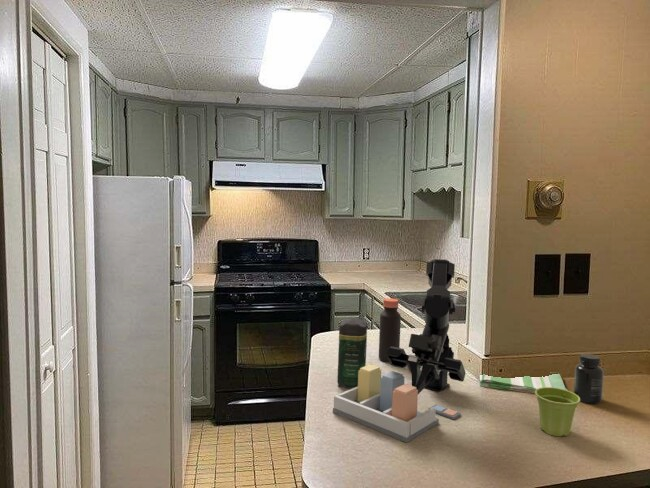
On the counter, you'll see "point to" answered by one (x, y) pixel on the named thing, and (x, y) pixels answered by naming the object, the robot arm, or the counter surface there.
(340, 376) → the coffee jar
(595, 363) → the supplement bottle
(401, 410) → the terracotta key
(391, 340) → the vinegar
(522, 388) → the dish towel
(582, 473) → the counter surface
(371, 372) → the yellow block
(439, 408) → the tile
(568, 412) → the plant pot
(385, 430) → the grey divided tray
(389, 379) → the pale blue block
